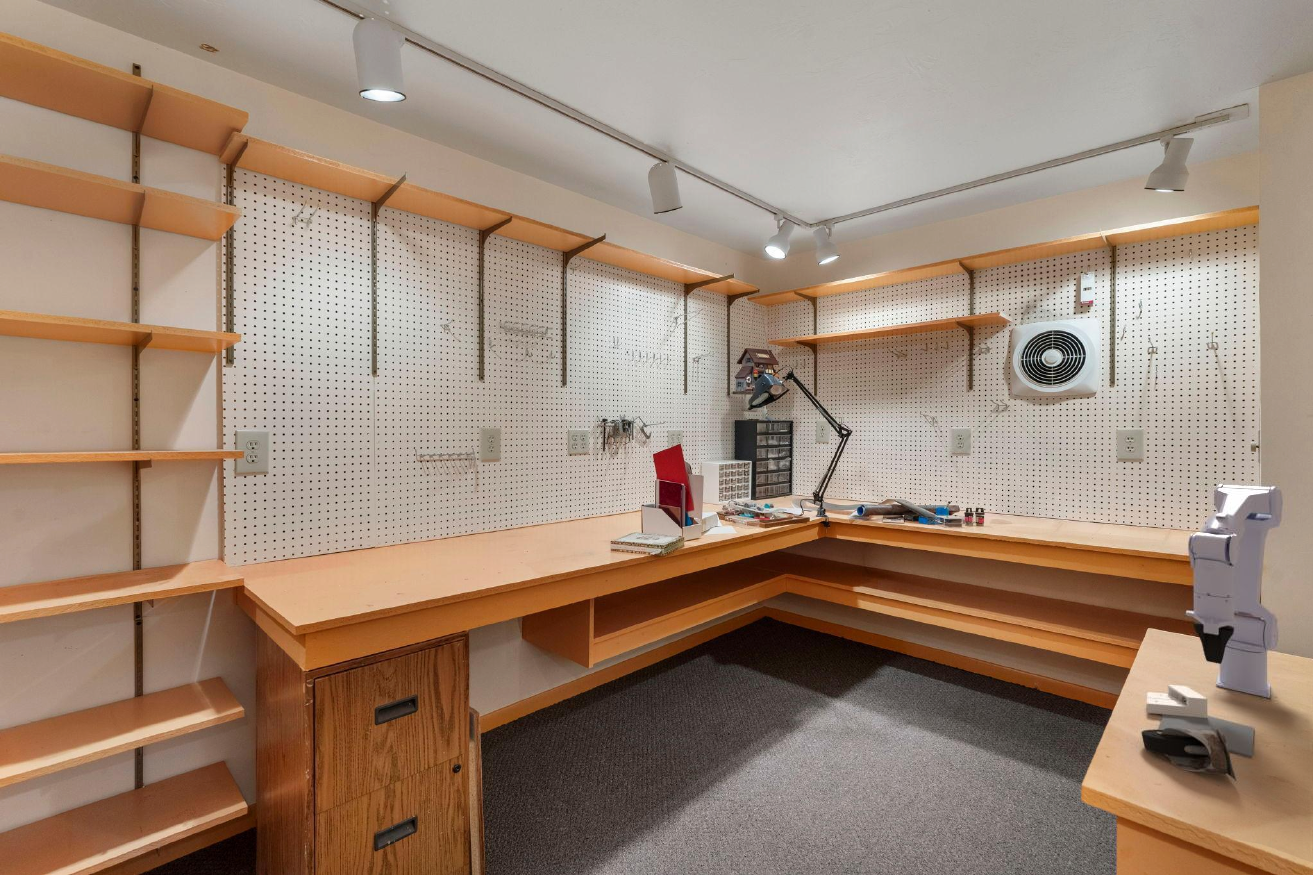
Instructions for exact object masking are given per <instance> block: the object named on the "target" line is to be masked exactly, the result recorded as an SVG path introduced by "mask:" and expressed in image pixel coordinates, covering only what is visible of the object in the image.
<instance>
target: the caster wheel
mask: <svg viewBox="0 0 1313 875" xmlns="http://www.w3.org/2000/svg"><path fill="white" fill-rule="evenodd" d="M1211 728H1212V731H1207V730H1194V729H1181V728H1165V729H1164V730H1158V729H1144V730H1142V731H1141V733H1140V734H1141V738H1142V742H1143V747H1144V748H1145V749H1146V750H1147V751H1150V752H1153V753H1155V754H1160V755H1165V756H1167V758H1168V759H1169V760H1170V762H1171V763H1172V764H1173V765H1175V766H1176V767H1177V768H1179V769H1181V770H1183V771H1187V772H1197V773H1207V774H1215V775H1216V774H1217V775H1223V776H1225V775H1228V776H1229V777H1230V778H1231V779H1233V781H1235V782H1237V777H1236V773H1235V768H1234V766H1233V762H1232V758H1231V752H1229V750H1228V746H1227V742H1226V738H1225V735H1224V734H1223V733H1222V732H1220V731H1219V730H1217V729H1216V728H1214V727H1213V726H1211Z"/></svg>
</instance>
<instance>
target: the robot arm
mask: <svg viewBox="0 0 1313 875" xmlns="http://www.w3.org/2000/svg"><path fill="white" fill-rule="evenodd" d="M1213 504H1214V507H1215V508H1216V511H1217V513H1215V514H1212V515H1210V517H1208V519H1207V521H1206V522H1205V523H1204V526H1203V527H1202V528H1201V530H1200V531H1199V532H1198V531H1197V532H1196V533H1195V534H1193V533H1192V534H1190V536H1189V538H1188V542H1187V550H1188V556H1189V559H1190V568H1191V569H1192V570H1193V610H1186V611H1185V616H1188V617H1192V618H1194V619H1195V620H1197V621H1195V622H1194V623H1193V629H1194V631H1195V632H1196V635H1198V637H1199V641H1200V642H1201V646H1202V649H1203V650H1202V651H1203V655H1204V658H1205V660H1206V662H1209V663H1213V664H1218V666H1219V672H1218V673H1217V677H1216V683H1215V686H1217V687H1220V688H1224V689H1229V690H1233V691H1237V692H1241V693H1245V694H1250V695H1256V696H1259V697H1264V698H1271V683H1270V682H1268V652H1269V651H1271V652H1272V651H1273V650H1275V649H1276V648H1277V646H1278V642H1279V628H1278V617H1277V616H1276V615H1275V613H1274V612H1272V611H1271V610H1270V609H1268V608H1267V607H1265V606H1264V605H1263V604H1261V591H1262V582H1263V581H1262V580H1263V571H1264V570H1263V567H1264V558H1265V557H1264V556H1265V548H1266V538H1267V536H1268V532H1269V530H1271V529H1275V528H1278V527H1280V523H1281V522H1282V517H1283V516H1282V514H1283V505H1284V504H1283V493H1282V489H1280V488H1278V486H1258V485H1257V486H1255V485H1254V486H1253V485H1233V484H1224V483H1219V484H1218V485H1217V486H1216V487H1215V489H1214V493H1213Z"/></svg>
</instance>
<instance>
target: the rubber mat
mask: <svg viewBox="0 0 1313 875" xmlns="http://www.w3.org/2000/svg"><path fill="white" fill-rule="evenodd" d="M1211 726H1213V727H1214V728H1216V729H1217V730H1219V731H1220V732H1222V733H1223V734H1224V735H1225V738H1226V742H1227V746H1228V750H1229V753H1230V754H1236V755H1238V756H1242V757H1246V758H1249V759H1253V754H1254V752H1253V751H1254V738H1255V727H1253V726H1249V725H1246V724H1241V723H1239V722H1238V723H1237V722H1233V721H1230V720H1225V719H1222V718H1218V717H1215V716H1210V715H1207V718H1202V717H1191V716H1179V715H1167V714H1162V718H1161V721H1160V723H1159V725H1158V728H1157V730H1164V729H1165V728H1181V729H1194V730H1207V731H1212V728H1211Z"/></svg>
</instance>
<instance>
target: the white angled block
mask: <svg viewBox="0 0 1313 875" xmlns="http://www.w3.org/2000/svg"><path fill="white" fill-rule="evenodd" d="M1146 695H1147V697H1146V713H1147V714H1158V715H1164V714H1167V715H1179V716H1191V717H1202V718H1207V716H1208V698H1207V697H1205V696H1203V695H1202V694H1200V693H1199V692H1198V691H1197V692H1196V691H1195V690H1194V689H1191V688H1190V687H1189V686H1187V685H1177V684H1173V685H1172V684H1167V693H1164V692H1163V693H1162V692H1152V691H1151V692H1150V691H1148V692H1147V694H1146Z"/></svg>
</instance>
